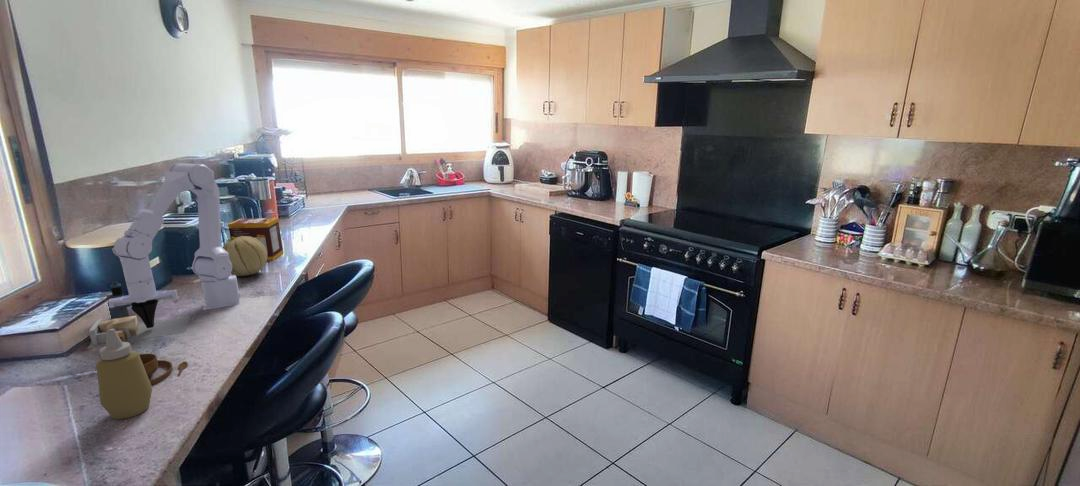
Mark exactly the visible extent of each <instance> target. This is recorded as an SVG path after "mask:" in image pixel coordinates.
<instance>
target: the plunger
mask: <svg viewBox="0 0 1080 486" xmlns="http://www.w3.org/2000/svg"><path fill="white" fill-rule="evenodd" d="M115 331H116V332H117V334H118V336H119V337H124V341H125V340H126V334H125V330H124V329H117V330H115Z"/></svg>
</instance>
